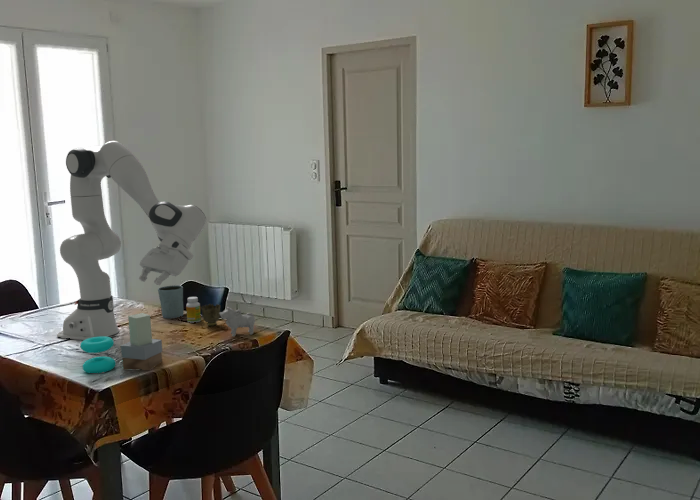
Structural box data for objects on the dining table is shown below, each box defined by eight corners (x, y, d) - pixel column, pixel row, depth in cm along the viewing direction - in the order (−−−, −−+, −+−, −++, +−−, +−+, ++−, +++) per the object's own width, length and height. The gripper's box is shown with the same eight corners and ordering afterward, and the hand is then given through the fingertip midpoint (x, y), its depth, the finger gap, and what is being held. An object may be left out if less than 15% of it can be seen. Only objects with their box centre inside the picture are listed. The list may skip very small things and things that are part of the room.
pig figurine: (220, 334, 260) (218, 306, 259) (254, 330, 264) (252, 303, 262) (221, 337, 255) (219, 309, 254) (256, 334, 259) (254, 306, 257)
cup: (225, 323, 275) (223, 303, 274) (215, 328, 268) (214, 308, 267) (208, 322, 278) (207, 303, 276) (198, 327, 271) (197, 307, 269)
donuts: (119, 336, 225) (98, 345, 215) (122, 366, 226) (101, 376, 217) (95, 334, 228) (72, 342, 219) (97, 363, 230) (76, 373, 220)
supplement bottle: (197, 323, 277) (196, 299, 276) (185, 323, 279) (183, 299, 277) (203, 319, 283) (201, 296, 281) (190, 319, 284) (189, 296, 282)
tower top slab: (121, 357, 223) (120, 345, 223) (139, 349, 232) (138, 337, 231) (145, 359, 220) (144, 347, 219) (162, 351, 228) (161, 339, 228)
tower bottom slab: (123, 370, 223) (122, 358, 222) (137, 361, 232) (136, 350, 231) (149, 371, 221) (148, 359, 220) (162, 362, 230) (161, 350, 229)
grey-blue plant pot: (181, 318, 286) (179, 289, 284) (156, 319, 286) (154, 290, 284) (187, 312, 296) (185, 284, 294) (163, 313, 296) (161, 285, 294)
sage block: (130, 343, 225) (128, 315, 224) (144, 339, 228) (142, 312, 227) (138, 345, 221) (135, 318, 220) (152, 342, 225) (150, 315, 224)
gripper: (150, 240, 236) (126, 272, 231) (183, 244, 222) (158, 280, 217) (163, 251, 240) (139, 283, 235) (196, 256, 226) (172, 291, 221)
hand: (148, 282), depth 226 cm, fingers open, 8 cm apart
